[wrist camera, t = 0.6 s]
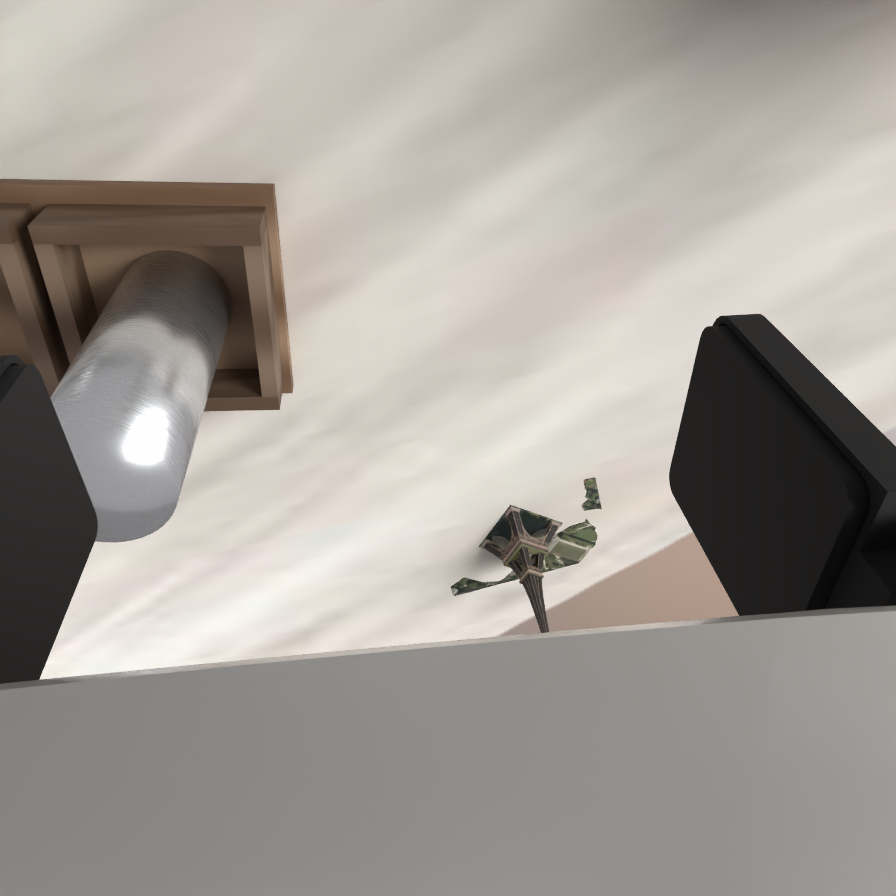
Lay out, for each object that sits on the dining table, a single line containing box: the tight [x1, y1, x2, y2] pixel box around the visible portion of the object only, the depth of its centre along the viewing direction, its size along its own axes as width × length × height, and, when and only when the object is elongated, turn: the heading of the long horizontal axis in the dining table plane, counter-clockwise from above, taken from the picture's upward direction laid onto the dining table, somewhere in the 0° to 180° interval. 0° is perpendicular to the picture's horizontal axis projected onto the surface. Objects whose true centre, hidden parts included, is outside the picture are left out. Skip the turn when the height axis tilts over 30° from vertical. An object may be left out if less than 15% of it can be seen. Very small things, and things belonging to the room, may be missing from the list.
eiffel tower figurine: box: [451, 478, 602, 633], centre depth 58 cm, size 15×10×13 cm
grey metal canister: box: [51, 250, 232, 542], centre depth 38 cm, size 7×7×18 cm
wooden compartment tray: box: [0, 179, 293, 411], centre depth 44 cm, size 14×26×4 cm, turn 87°
